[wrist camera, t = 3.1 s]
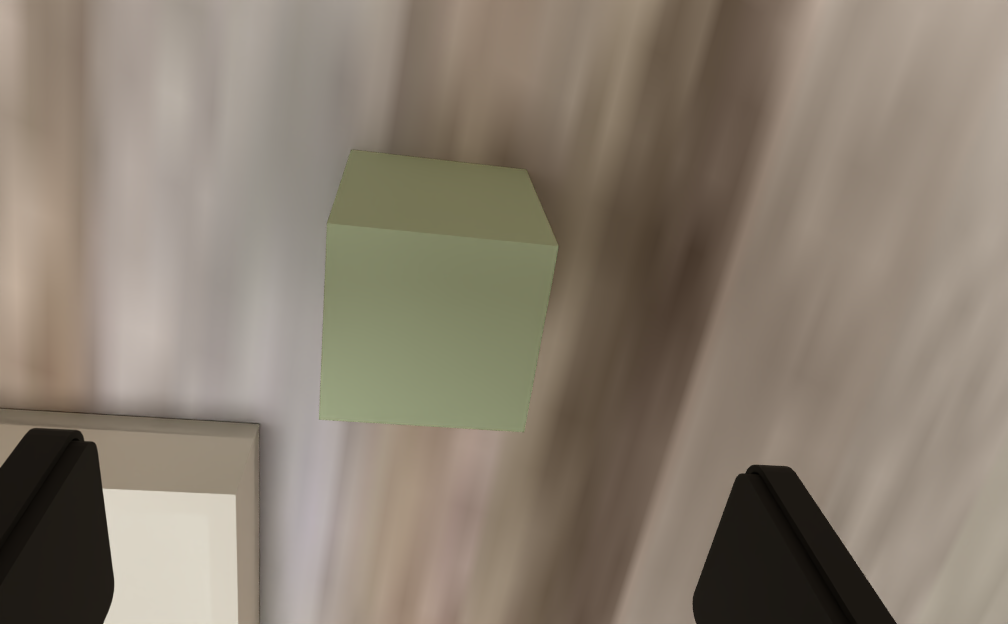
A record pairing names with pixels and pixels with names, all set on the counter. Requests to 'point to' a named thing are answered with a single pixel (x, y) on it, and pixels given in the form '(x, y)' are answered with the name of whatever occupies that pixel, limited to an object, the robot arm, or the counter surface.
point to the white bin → (171, 512)
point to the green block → (433, 293)
